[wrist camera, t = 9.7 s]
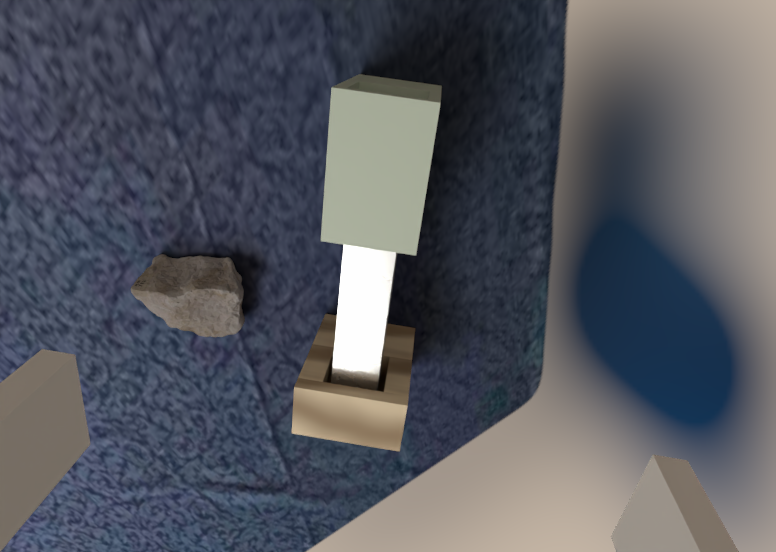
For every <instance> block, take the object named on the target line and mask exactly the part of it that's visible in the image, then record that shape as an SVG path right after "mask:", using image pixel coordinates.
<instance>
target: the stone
mask: <svg viewBox="0 0 776 552" xmlns="http://www.w3.org/2000/svg"><path fill="white" fill-rule="evenodd" d="M241 282H242V277H241V275H240V274H239V273H238V272H237V271H236V270H235V266H234V263H233V261H232V260H231V258H228V257H226V258H214V257H208V256H207V257H203V256H201V255H200V256H195V257H191V256H188V257H183V258H179V259H175V258H170V257H168V256H166V255H164V254H161V255H158V256H156V257H155V258H154V259H153V261H152V265H151V266H150V267H149V268H147V269H146V270H145V272H144V273H143V274H142V275H141V276H140V277H139V278H138V279H137V280H136V282H135V283H134V285H133V286H132V287H131V292H132V294H133V295H134V296H135V298H137V299H138V300H141V301H142V302H143V303H144V304H145V306H146V307H147V308H148V309H149V310H150V311H152V312H153V313H154V314H156V315H157V316H160V317H162V318H163V319H164V320H165V321H166V323H167V325H168V326H169V327H175V328H179V329H180V330H184V331H193V332H195V333H196V334H197V335H199V336H205V337H209V336H212V337H218V336H219V337H224V336H226V335H230V334H236V333H237V332H238V331H239V330H240V329H241V327H242V326H243V324H244V321H245V318H244V315H243V313H242V308H241V306H242V299H243V295H244V294H243V292H244V291H243V287H242V285H241Z"/></svg>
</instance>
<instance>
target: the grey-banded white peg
mask: <svg viewBox="0 0 776 552" xmlns="http://www.w3.org/2000/svg"><path fill="white" fill-rule="evenodd" d="M397 255H398V253H396V252H389V251H383V250H376V249H370V248H363V247H357V246H350V245H344V247H343V258H342V269H341V280H340V291H339V301H338V312H337V323H336V334H335V345H334V356H333V366H332V377H331V383H333V384H339V385H345V386H351V387H357V388H363V389H369V390H375V391H378V388H379V382H380V377H381V370H382V369H381V366H382V359H383V352H384V345H385V338H386V331H387V324H388V317H389V310H390V303H391V297H392V290H393V283H394V276H395V269H396V262H397Z"/></svg>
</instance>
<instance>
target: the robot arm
mask: <svg viewBox="0 0 776 552" xmlns="http://www.w3.org/2000/svg"><path fill="white" fill-rule="evenodd" d="M89 445H90V439H89V434H88V428H87V422H86V416H85V410H84V404H83V399H82V393H81V387H80V381H79V375H78V369H77V364H76V358H75V355H73V354H67V353H61V352H56V351H50V350H44V349H42V350H41V351H39V352H38V353H37V354H36V355H34V356H33V357H32V358H31V359H30V360H28V361H27V362H26V363H25V364H23V365H22V366H21V367H20V368H18V369H17V370H16V371H15V372H14V373H12V374H11V375H10V376H9V377H7V378H6V379H5V380H4V381H2V382H1V383H0V551H1V550H2V549H3V548H4V547H5V545H6V544H7V543H8V542H9V541H10V539H11V538H12V537H13V536H14V535H15V533H16V532H17V531H18V530H19V529H20V527H21V526H22V525H23V524H24V523H25V521H26V520H27V519H28V518H29V517H30V516H31V514H32V513H33V512H34V511H35V510H36V508H37V507H38V506H39V505H40V504H41V502H42V501H43V500H44V499H45V498H46V496H47V495H48V494H49V493H50V492H51V490H52V489H53V488H54V487H55V486H56V485H57V483H58V482H59V481H60V480H61V479H62V477H63V476H64V475H65V474H66V473H67V471H68V470H69V469H70V468H71V467H72V465H73V464H74V463H75V462H76V461H77V459H78V458H79V457H80V456H81V455H82V453H83V452H84V451H85V450H86V449H87V448H88V446H89ZM611 537H612V540H613V543H614V546H615V549H616V552H739V551H738V550H737V548H736V546H735V544H734V543H733V541H732V539H731V537H730V536H729V534H728V532H727V530H726V528H725V527H724V525H723V523H722V521H721V519H720V518H719V516H718V514H717V512H716V511H715V509H714V507H713V505H712V503H711V502H710V500H709V498H708V496H707V495H706V493H705V491H704V489H703V487H702V486H701V484H700V482H699V480H698V479H697V477H696V475H695V473H694V472H693V470H692V468H691V466H690V465H689V463H688V461H686V460H680V459H675V458H669V457H664V456H658V455H652V457H651V459H650V461H649V463H648V465H647V467H646V469H645V471H644V473H643V475H642V477H641V479H640V481H639V483H638V485H637V487H636V488H635V491H634V493H633V494H632V497H631V499H630V500H629V502H628V504H627V506H626V508H625V510H624V512H623V514H622V516H621V518H620V520H619V522H618V524H617V526H616V528H615V530H614V532H613V534H612V536H611Z"/></svg>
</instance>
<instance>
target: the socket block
mask: <svg viewBox="0 0 776 552" xmlns="http://www.w3.org/2000/svg"><path fill="white" fill-rule="evenodd" d="M336 323H337V316H336V315H330V314H325V316H324V319H323V321H322V323H321V326H320V328H319V330H318V333H317V335H316V337H315V340H314V342H313V344H312V347H311V349H310V351H309V354H308V356H307V358H306V361H305V363H304V365H303V368H302V370H301V372H300V375H299V377H298V380H297V382H296V384H295V387H294V401H293V420H292V433H293V434H299V435H305V436H311V437H316V438H322V439H328V440H334V441H340V442H346V443H352V444H358V445H364V446H370V447H376V448H382V449H388V450H394V451H400V445H401V439H402V434H403V428H404V423H405V417H406V411H407V406H408V396H409V386H410V376H411V366H412V356H413V346H414V336H415V328H411V327H405V326H399V325H393V324H387V331H386V338H385V345H384V352H383V359H382V366H381V369H382V370H381V377H380V382H379V388H378V391H375V390H369V389H363V388H357V387H351V386H345V385H339V384H333V383H331V377H332V366H333V356H334V345H335V334H336Z"/></svg>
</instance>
